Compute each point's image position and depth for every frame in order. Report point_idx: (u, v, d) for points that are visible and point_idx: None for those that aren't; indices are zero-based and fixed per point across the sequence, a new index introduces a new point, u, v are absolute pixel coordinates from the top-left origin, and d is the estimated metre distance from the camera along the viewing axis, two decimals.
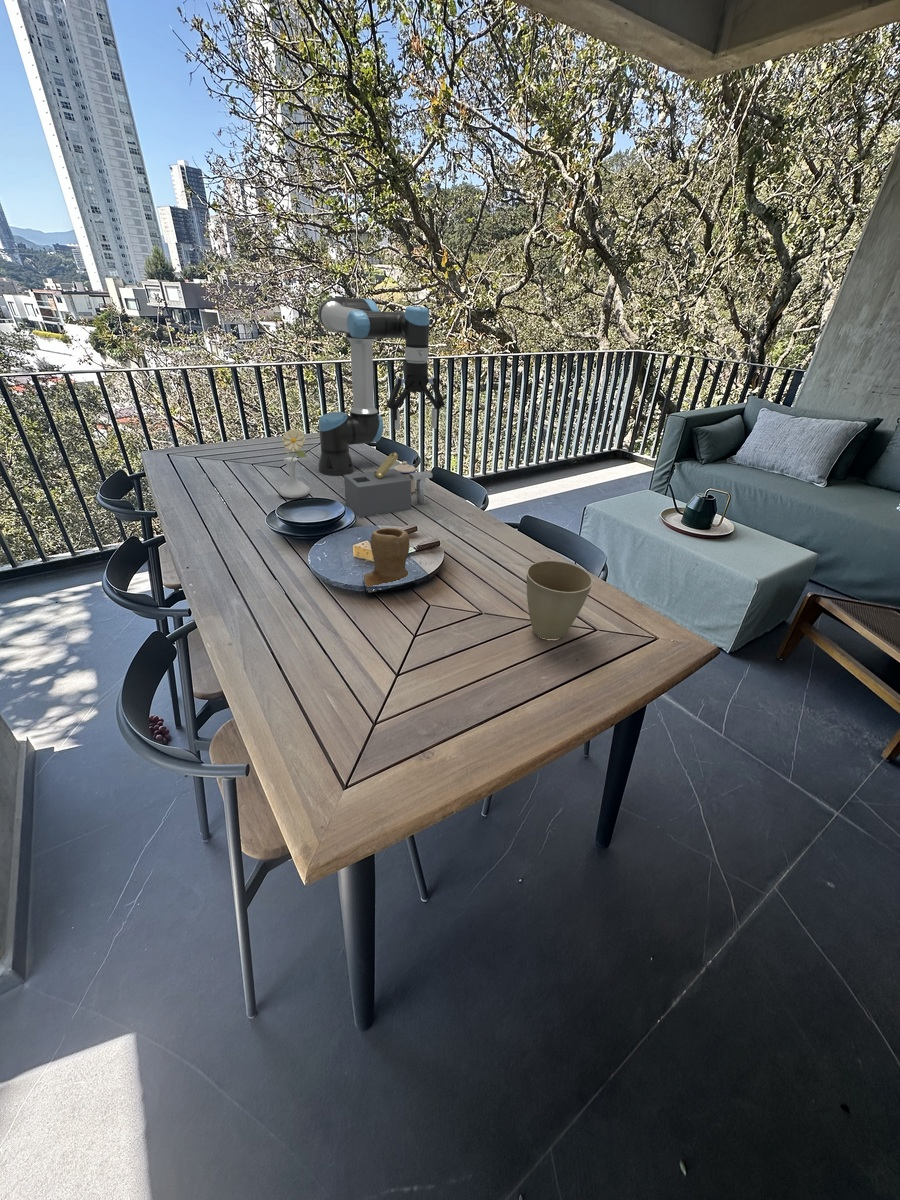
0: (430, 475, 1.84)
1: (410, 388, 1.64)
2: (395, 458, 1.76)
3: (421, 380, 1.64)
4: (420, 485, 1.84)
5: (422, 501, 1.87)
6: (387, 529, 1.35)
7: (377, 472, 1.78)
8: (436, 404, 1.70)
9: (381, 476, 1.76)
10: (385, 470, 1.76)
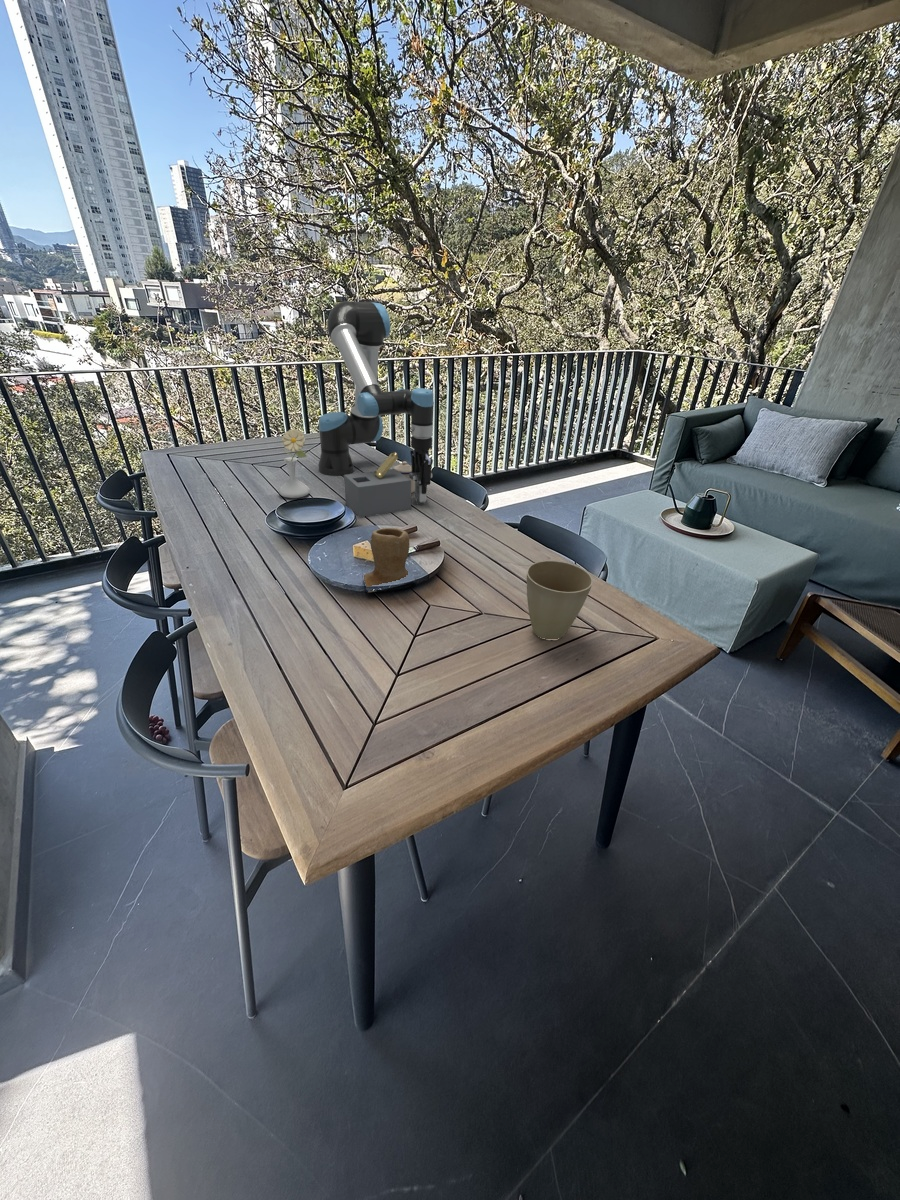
0: None
1: (414, 458, 1.81)
2: (395, 458, 1.76)
3: (420, 454, 1.77)
4: None
5: None
6: (387, 529, 1.35)
7: (377, 472, 1.78)
8: (421, 480, 1.81)
9: (381, 476, 1.76)
10: (385, 470, 1.76)
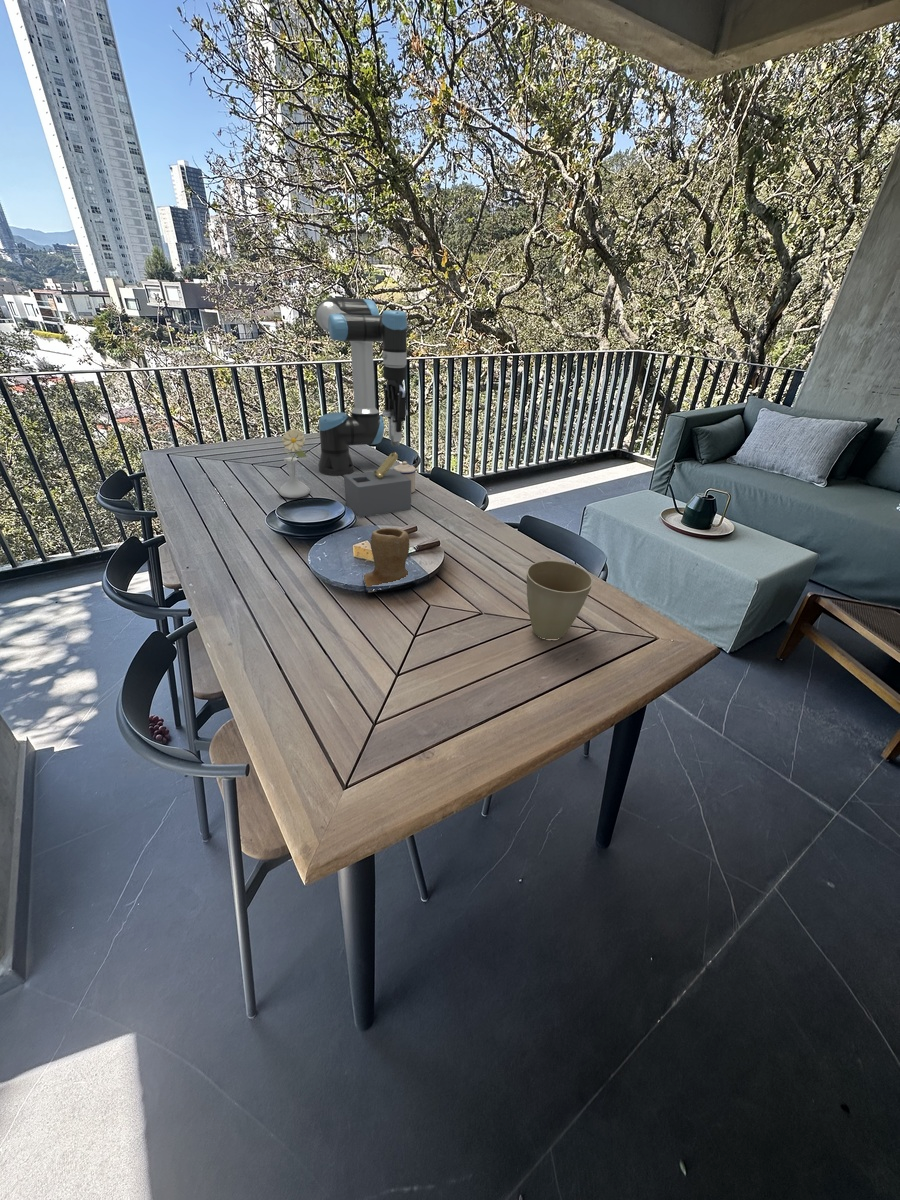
0: None
1: (388, 392, 1.65)
2: (395, 458, 1.76)
3: (394, 385, 1.62)
4: None
5: (397, 442, 1.72)
6: (387, 529, 1.35)
7: (377, 472, 1.78)
8: (395, 416, 1.66)
9: (381, 476, 1.76)
10: (385, 470, 1.76)
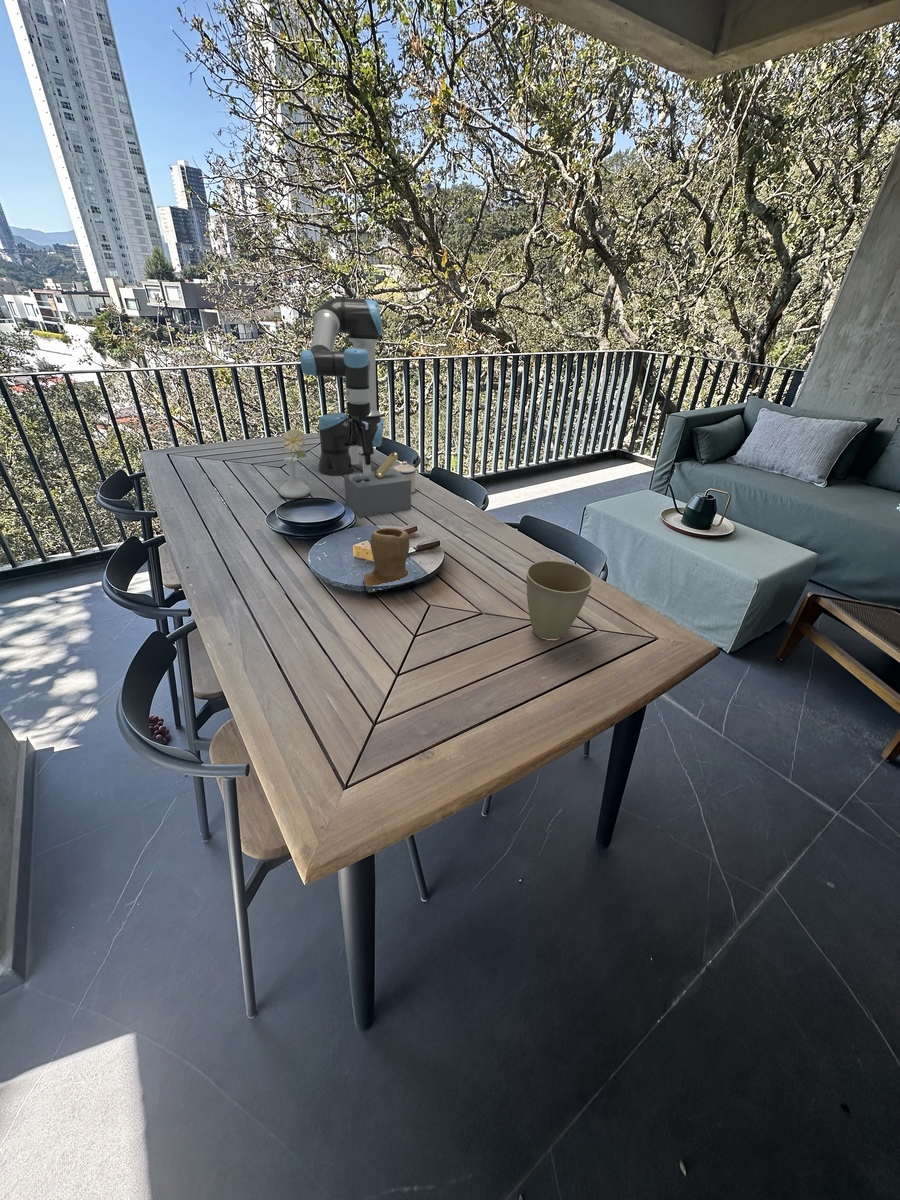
0: (371, 477, 1.76)
1: (351, 425, 1.67)
2: (395, 458, 1.76)
3: (357, 420, 1.63)
4: None
5: None
6: (387, 529, 1.35)
7: (377, 472, 1.78)
8: (363, 450, 1.64)
9: (381, 476, 1.76)
10: (385, 470, 1.76)
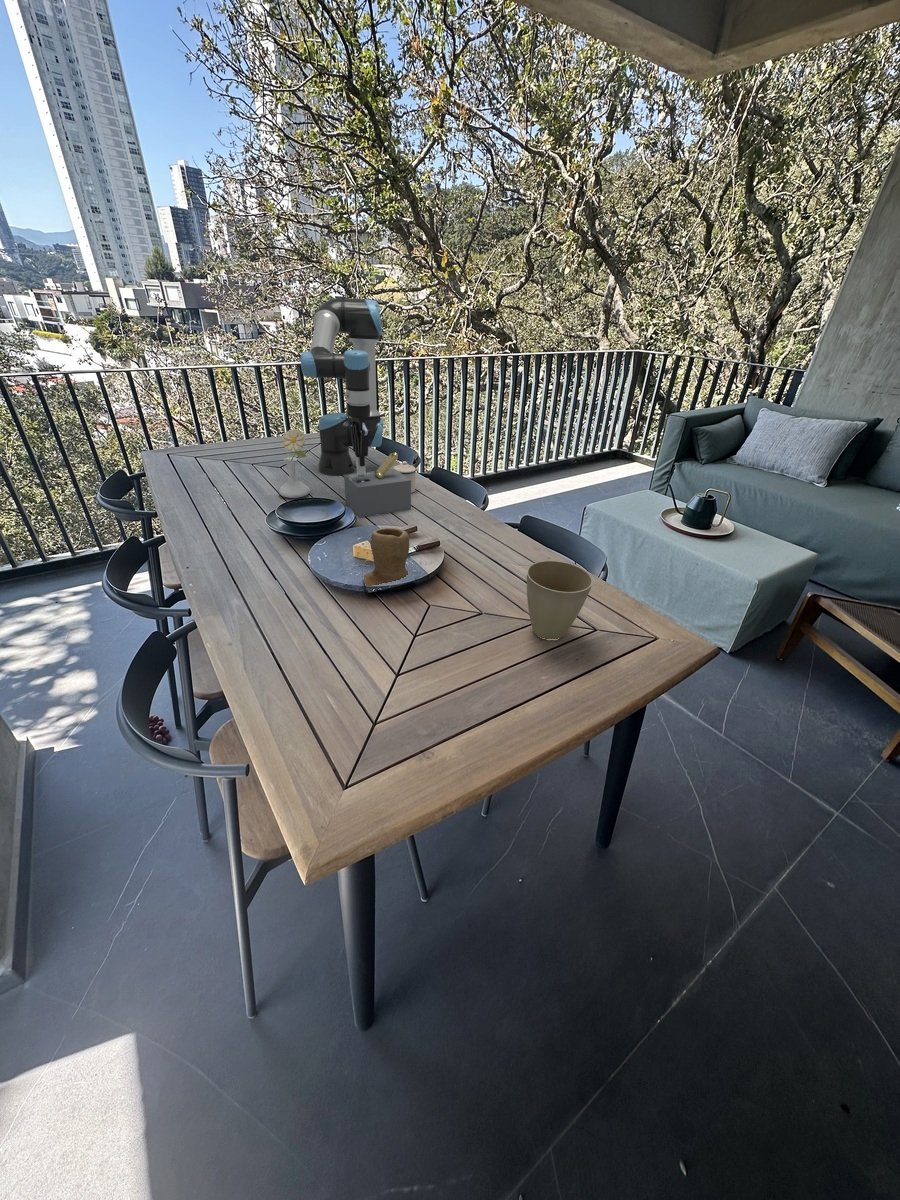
0: (371, 477, 1.76)
1: (353, 429, 1.67)
2: (395, 458, 1.76)
3: (357, 423, 1.63)
4: None
5: None
6: (387, 529, 1.35)
7: (377, 472, 1.78)
8: (358, 452, 1.69)
9: (381, 476, 1.76)
10: (385, 470, 1.76)
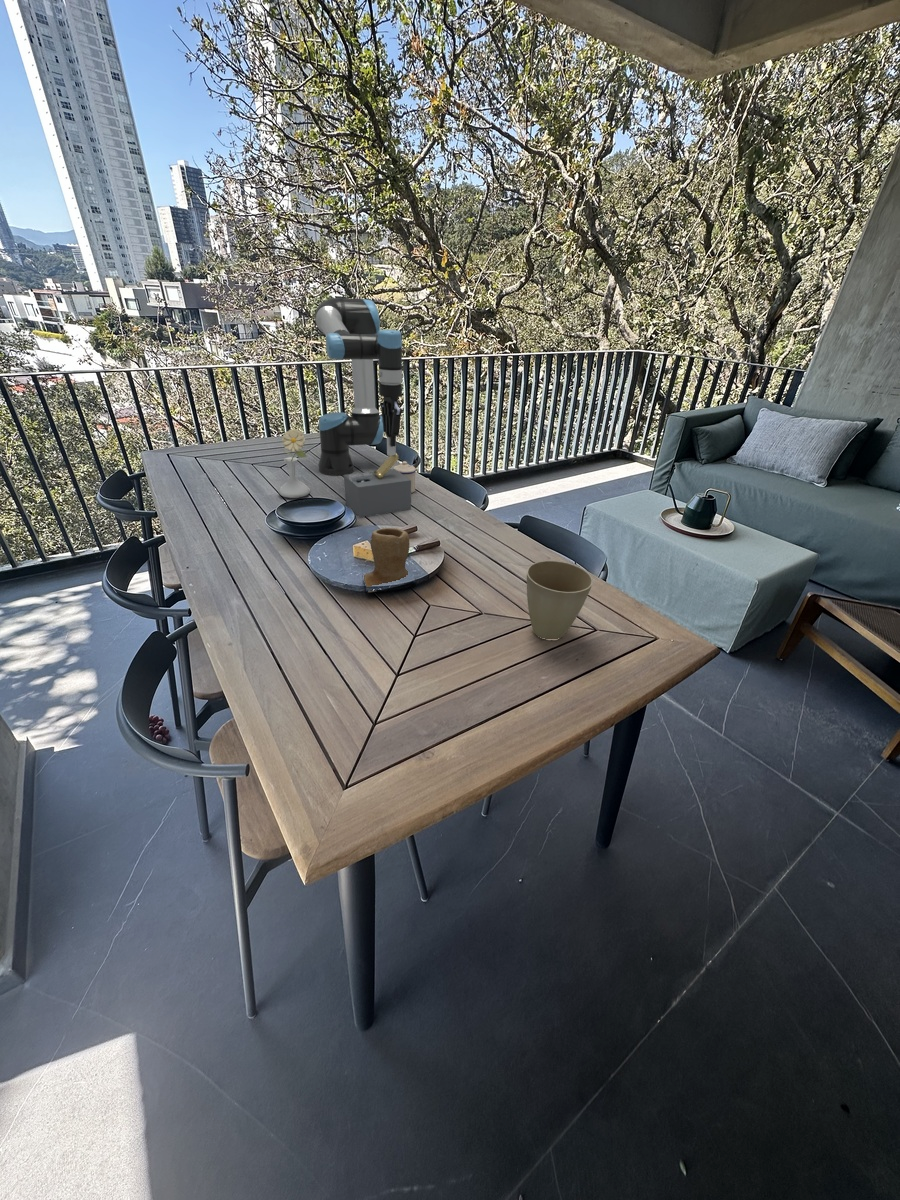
0: (371, 477, 1.76)
1: (384, 409, 1.69)
2: (396, 459, 1.76)
3: (389, 402, 1.65)
4: None
5: None
6: (387, 529, 1.35)
7: (377, 472, 1.78)
8: (389, 432, 1.71)
9: (381, 476, 1.76)
10: (385, 470, 1.76)
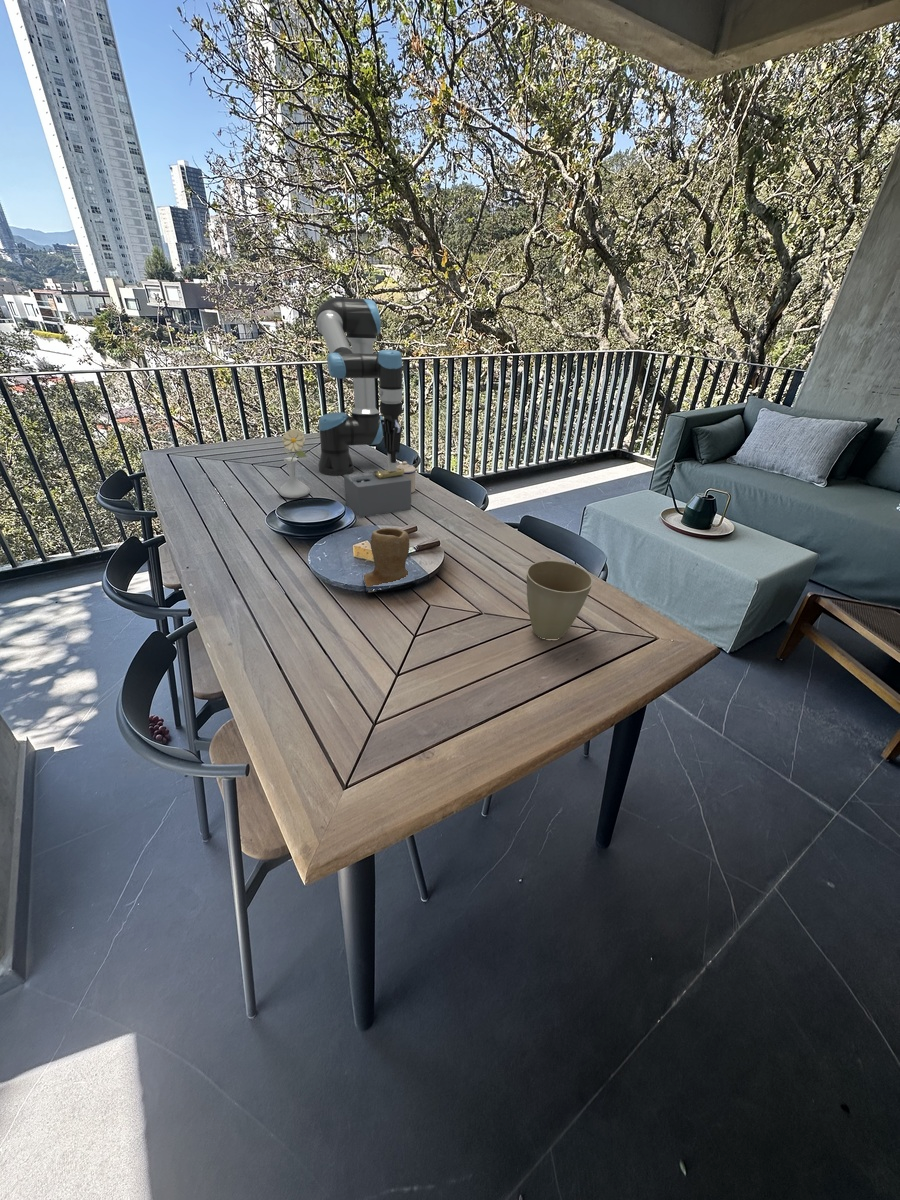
0: (371, 477, 1.76)
1: (385, 426, 1.72)
2: (401, 472, 1.80)
3: (390, 420, 1.68)
4: None
5: None
6: (387, 529, 1.35)
7: (378, 472, 1.78)
8: (390, 448, 1.74)
9: (381, 476, 1.76)
10: (387, 475, 1.78)
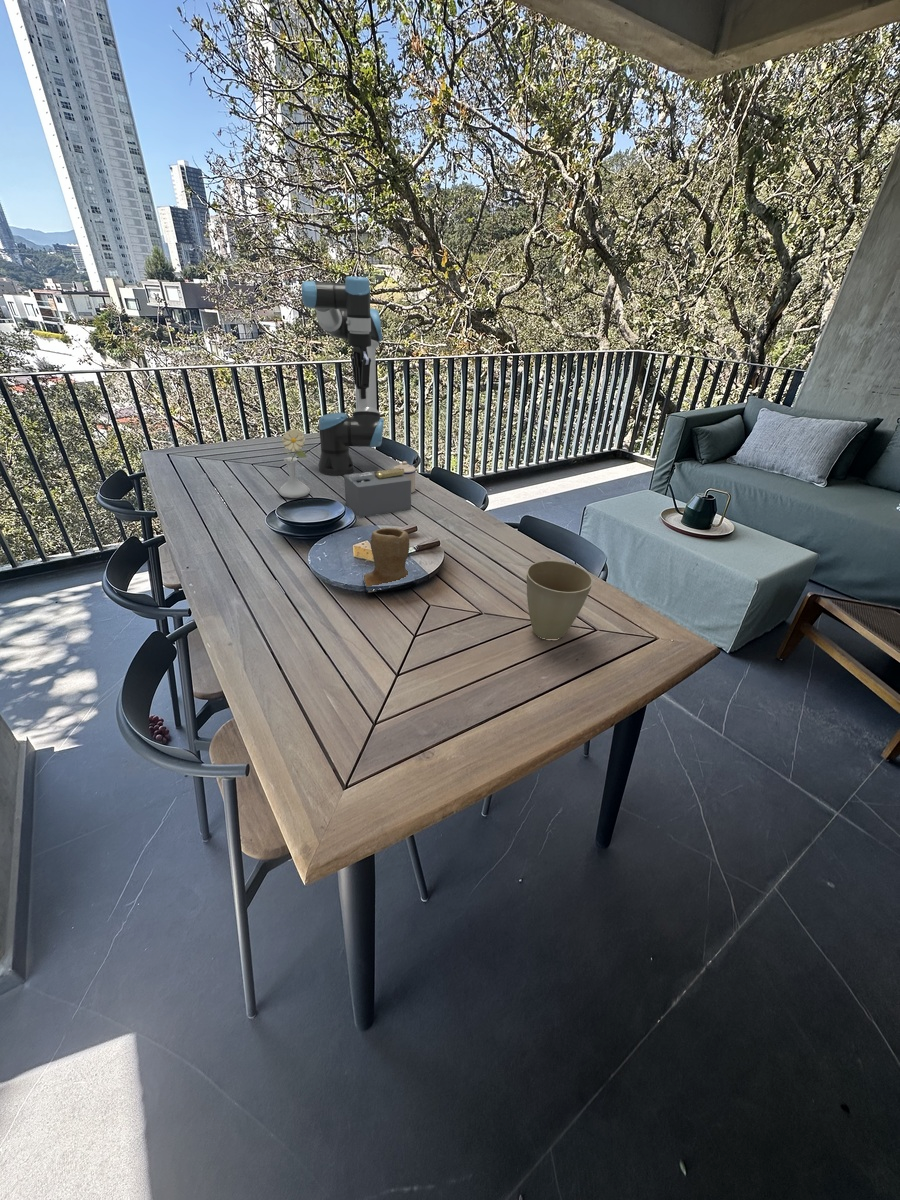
0: (371, 477, 1.76)
1: (354, 360, 1.68)
2: (401, 472, 1.80)
3: (359, 352, 1.64)
4: None
5: None
6: (387, 529, 1.35)
7: (379, 472, 1.78)
8: (359, 383, 1.70)
9: (381, 476, 1.76)
10: (387, 475, 1.78)
